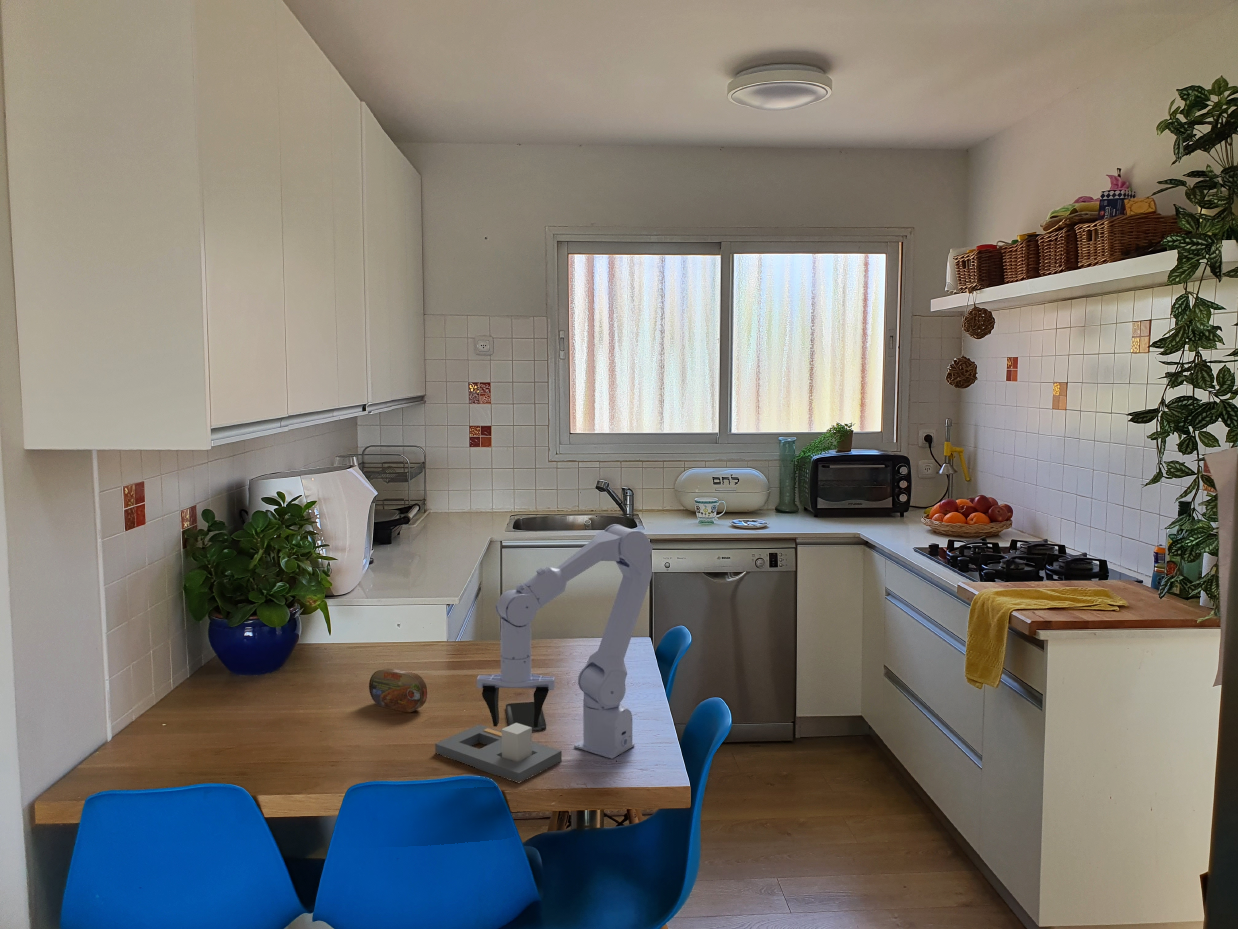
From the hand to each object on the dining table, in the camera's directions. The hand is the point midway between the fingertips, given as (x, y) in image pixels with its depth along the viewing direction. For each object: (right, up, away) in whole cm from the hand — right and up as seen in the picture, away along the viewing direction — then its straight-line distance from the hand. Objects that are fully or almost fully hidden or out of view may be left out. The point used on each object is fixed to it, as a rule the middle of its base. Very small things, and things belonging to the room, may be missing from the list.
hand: (516, 725), depth 168 cm
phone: (-1, -6, +24) cm, 24 cm away
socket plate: (-4, -7, +4) cm, 9 cm away
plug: (0, -8, +1) cm, 8 cm away
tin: (-30, -5, +30) cm, 42 cm away
